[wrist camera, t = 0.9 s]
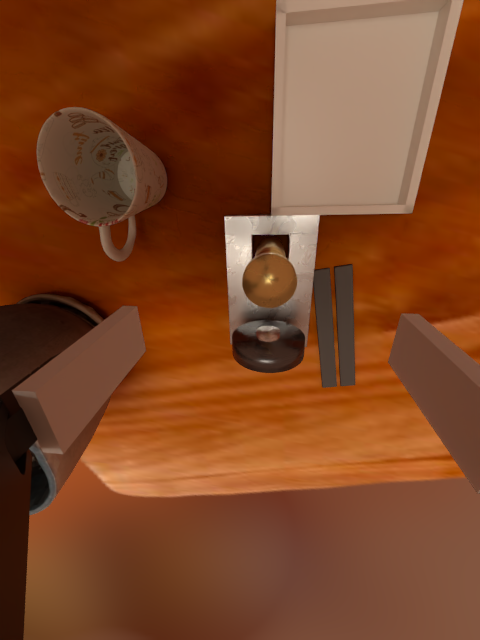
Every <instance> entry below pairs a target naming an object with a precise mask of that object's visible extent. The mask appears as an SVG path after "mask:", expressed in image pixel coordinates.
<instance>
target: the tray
mask: <svg viewBox="0 0 480 640" xmlns="http://www.w3.org/2000/svg"><path fill="white" fill-rule="evenodd" d="M462 4H463V0H276V38H275V79H274V120H273V161H272V202H271V216H293V215H347V214H402V213H412V212H413V208H414V204H415V199H416V195H417V191H418V187H419V183H420V179H421V174H422V170H423V166H424V162H425V158H426V154H427V150H428V145H429V141H430V137H431V133H432V129H433V125H434V121H435V116H436V112H437V108H438V104H439V100H440V96H441V92H442V87H443V83H444V79H445V75H446V71H447V67H448V62H449V58H450V54H451V50H452V46H453V42H454V38H455V33H456V29H457V25H458V21H459V17H460V13H461V9H462Z"/></svg>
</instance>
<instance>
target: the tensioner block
mask: <svg viewBox="0 0 480 640" xmlns="http://www.w3.org/2000/svg"><path fill="white" fill-rule="evenodd" d="M319 217H320V215H293V216H271V214H252V215H227V216H225V237H226V258H227V279H228V300H229V321H230V342H231V344H232V350H233V357H234V359H235V360H236V361H237V362H238V363H239V364H240V365H242V366H243V367H245V368H247V369H250V370H253V371H257V372H264V373H276V372H283V371H287V370H290V369H292V368H294V367H296V366H297V365H299V364H300V363H301V361H302V360H303V357H304V348H305V347H307V338H308V328H309V318H310V308H311V297H312V287H313V277H314V267H315V257H316V247H317V237H318V227H319ZM279 234H289V240H288V260H289V261H290V262H291V263H292V265H293V267H294V269H295V272H296V276H297V287H296V290H295V293H294V294H293V296H292V297H291V299H290V300H289V301H287V302H286V303H285V304H283V305H281V306H278V307H274V308H264V307H260V306H258V305H256V304H254V303H253V302H251V301H250V300H249V299H248V298H247V296H246V295H245V293H244V290H243V286H242V278H243V274H244V271H245V268H246V266H247V265H248V263H249V262H250V261H251V260H252V259H253V235H279Z"/></svg>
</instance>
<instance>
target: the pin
mask: <svg viewBox="0 0 480 640" xmlns="http://www.w3.org/2000/svg"><path fill="white" fill-rule="evenodd" d="M242 286H243V290H244V293H245V295H246V296H247V298H248V299H249V300H250V301H251V302H253V303H254V304H256V305H258V306H260V307H264V308H274V307H278V306H281V305H283V304H285V303H286V302H287V301H289V300H290V299H291V297H292V296H293V294H294V293H295V290H296V287H297V276H296V272H295V269H294V267H293V265H292V263H291V262H290V261H289V260H288V259H287V258H286V256H285V251H284V246H283V243H282V242H281V240H280V239H279V238H277V237H275V236H267V237H265V238H263V239H262V240H261V241H260V242H259V244H258V247H257V250H256V254H255V257H254V258H253V259H252V260H251V261H250V262H249V263H248V265H247V266H246V268H245V271H244V274H243V278H242Z"/></svg>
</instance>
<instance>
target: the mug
mask: <svg viewBox="0 0 480 640" xmlns="http://www.w3.org/2000/svg"><path fill="white" fill-rule="evenodd" d="M37 162H38V167H39V171H40V175H41V178H42V180H43V182H44V185H45V187H46V189H47V190H48V192H49V194H50V195H51V197H52V198H53V200H54V201H55V202H56V203H57V205H58V206H59V207H60V208H61V209H62V210H63V211H65V212H66V213H67V214H68V215H70V216H71V217H72V218H74V219H76V220H78V221H80V222H82V223H84V224H87V225H92V226H99V232H100V238H101V243H102V247H103V249H104V251H105V253H106V254H107V255H108V256H109V257H110V258H111V259H113V260H115V261H124V260H125V259H126V258H128V256H129V255H130V254H131V252H132V249H133V246H134V242H135V238H136V222H135V214H137V213H139V212H141V211H143V210H145V209H147V208H149V207H151V206H153V205H155V204H157V203H158V202H159V201H160V200H161V199H162V198H163V196H164V194H165V192H166V188H167V174H166V170H165V168H164V165H163V163H162V162H161V160H160V159H159V157H158V156H157V155H156V154H155V153H154V152H152V151H151V150H150V149H149V148H147V147H146V146H144V145H143V144H142V143H140V142H139V141H138V140H136V139H135V138H134V137H132V136H131V135H129V134H128V133H127V132H125V131H124V130H123V129H121V128H120V127H119V126H117V125H116V124H115V123H113V122H112V121H110V120H109V119H107V118H106V117H104V116H102V115H101V114H99V113H97V112H94V111H92V110H89V109H86V108H80V107H69V108H64V109H61V110H59V111H57V112H55V113H54V114H52V115H51V116H50V117H49V118H48V119H47V120H46V122H45V123H44V125H43V126H42V128H41V131H40V133H39V137H38V141H37ZM127 218H129V231H128V239H127V242H126V244H125V246H124V247H123V248H122V249H120V250H118V249H117V248H116V247H115V246H114V245H113V243H112V240H111V233H110V225H114V224H117V223H119V222H121V221H123V220H125V219H127Z"/></svg>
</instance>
